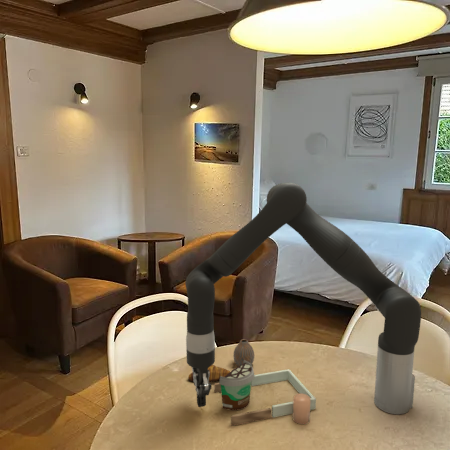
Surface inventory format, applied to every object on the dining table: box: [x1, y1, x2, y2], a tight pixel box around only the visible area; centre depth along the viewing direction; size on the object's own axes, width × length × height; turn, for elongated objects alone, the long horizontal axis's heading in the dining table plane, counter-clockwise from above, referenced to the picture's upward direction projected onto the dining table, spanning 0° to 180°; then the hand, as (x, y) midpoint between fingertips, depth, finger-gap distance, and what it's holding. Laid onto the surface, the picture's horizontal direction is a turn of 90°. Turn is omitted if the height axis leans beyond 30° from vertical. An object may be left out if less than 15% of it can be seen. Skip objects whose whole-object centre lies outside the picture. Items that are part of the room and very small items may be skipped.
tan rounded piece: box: [292, 393, 311, 425], centre depth 110 cm, size 4×4×6 cm
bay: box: [251, 369, 317, 418], centre depth 121 cm, size 13×17×3 cm
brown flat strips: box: [213, 382, 272, 427], centre depth 117 cm, size 11×17×2 cm, turn 17°
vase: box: [232, 338, 255, 367], centre depth 138 cm, size 7×7×9 cm
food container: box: [218, 360, 255, 411], centre depth 117 cm, size 12×6×10 cm, turn 143°
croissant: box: [187, 364, 231, 384], centre depth 130 cm, size 14×7×5 cm, turn 99°
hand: (201, 405), depth 114 cm, fingers closed
